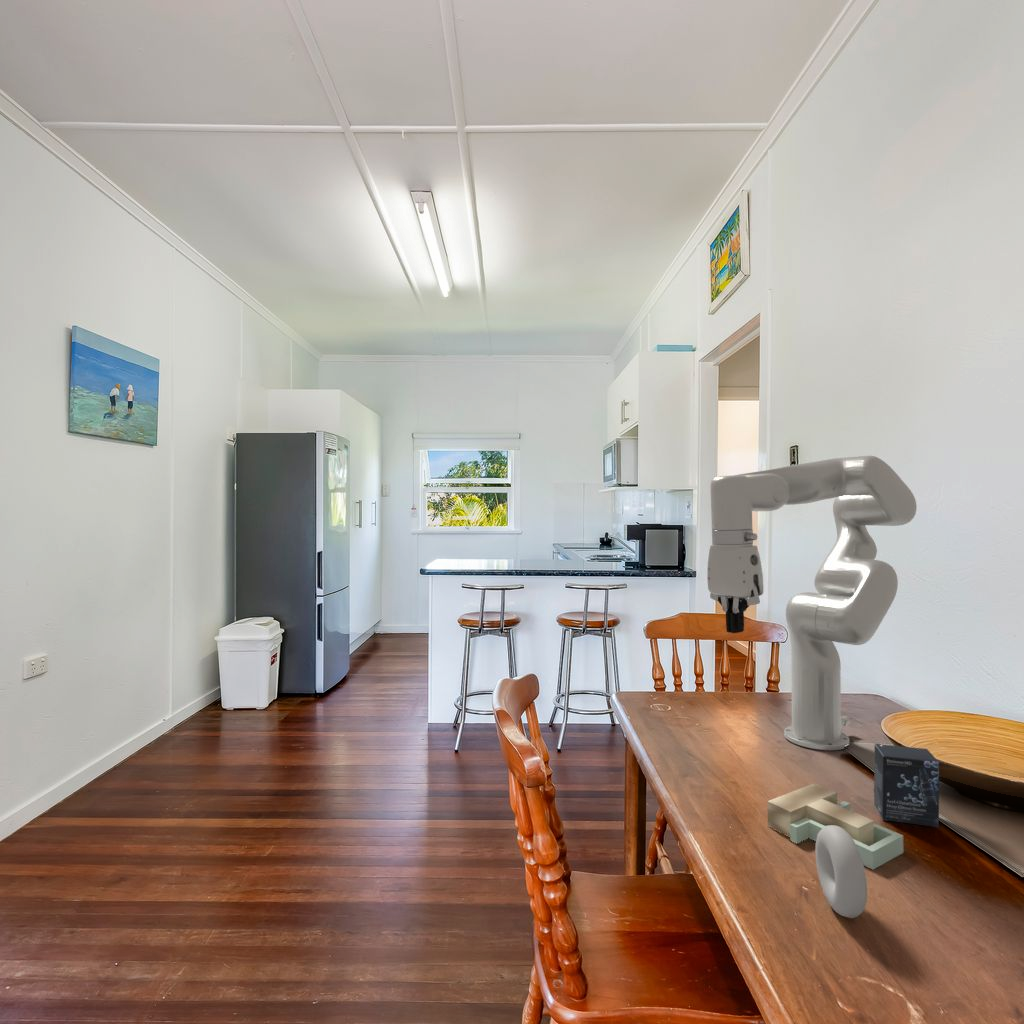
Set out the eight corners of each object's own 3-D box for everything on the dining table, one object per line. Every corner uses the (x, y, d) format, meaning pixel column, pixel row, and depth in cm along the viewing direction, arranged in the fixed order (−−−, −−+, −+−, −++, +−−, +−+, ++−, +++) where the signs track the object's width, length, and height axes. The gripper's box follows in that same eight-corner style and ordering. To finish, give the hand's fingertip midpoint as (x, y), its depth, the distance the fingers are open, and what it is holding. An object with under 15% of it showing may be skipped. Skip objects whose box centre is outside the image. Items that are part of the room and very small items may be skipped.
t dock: (844, 816, 99) (843, 801, 99) (914, 846, 90) (913, 829, 90) (790, 841, 92) (790, 824, 92) (860, 876, 83) (860, 858, 83)
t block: (767, 826, 96) (767, 801, 96) (814, 807, 102) (813, 783, 102) (842, 864, 86) (841, 835, 86) (888, 840, 92) (888, 813, 92)
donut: (811, 884, 81) (810, 809, 81) (838, 886, 81) (838, 810, 81) (841, 936, 71) (841, 851, 71) (873, 939, 71) (872, 853, 71)
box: (883, 821, 97) (882, 755, 97) (873, 805, 103) (873, 742, 103) (940, 829, 95) (940, 761, 95) (927, 811, 100) (927, 747, 100)
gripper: (778, 538, 115) (781, 635, 116) (713, 536, 128) (716, 623, 128) (753, 541, 111) (756, 641, 112) (689, 538, 124) (692, 628, 124)
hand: (735, 631), depth 120 cm, fingers closed
